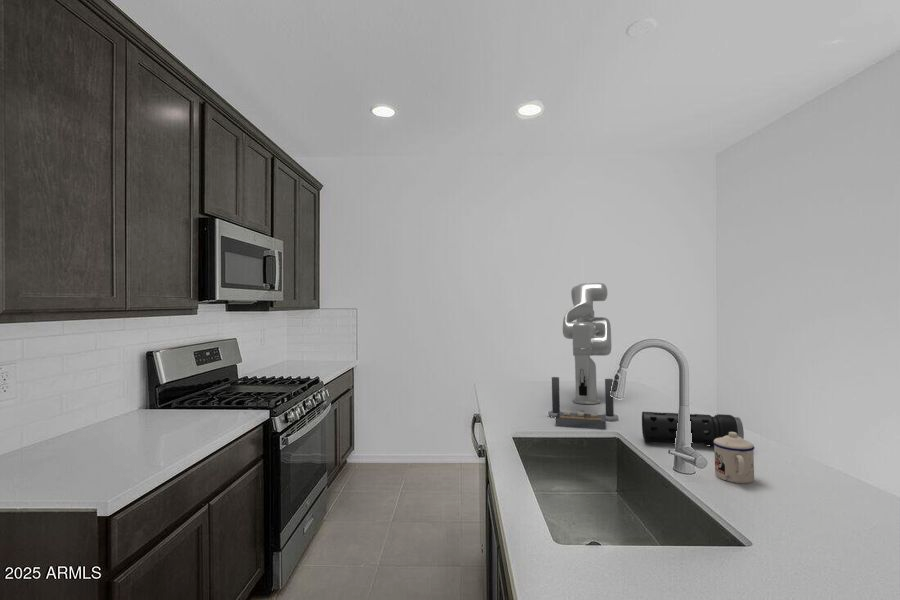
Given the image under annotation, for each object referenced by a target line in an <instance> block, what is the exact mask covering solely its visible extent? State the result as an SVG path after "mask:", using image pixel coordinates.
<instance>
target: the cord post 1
mask: <svg viewBox="0 0 900 600" xmlns="http://www.w3.org/2000/svg"><path fill="white" fill-rule="evenodd" d="M560 398H561V397H560V377H559V376H552V377H551V401H552V402H551V403H552V404H551V406H552V407H551V409H552V410H550V411H548V413H547V414H548V415H549V416H552V417H556V416H557V414H558V412H562V413H564V411H561V409H560V408H561V406H560V404H561V401H560V400H561V399H560ZM549 416H548V417H549ZM552 417H551V418H552Z"/></svg>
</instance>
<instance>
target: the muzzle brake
mask: <svg viewBox="0 0 900 600" xmlns="http://www.w3.org/2000/svg"><path fill="white" fill-rule="evenodd" d="M689 414H690V421H691V433H692V442H693V443H692V444H694V445H695V444H696V445H710V446H714V444H713V442H714V440H715V439H716V438H720V437H724V436H726V435H729V432H736V433H737V434H738V437H741V438H743V439H744V437H745V435H744V434H745V432H744V427H743V423H742V420H741V418H740V417H738V416H737V417H736V416H733V415H732V414H721V413H720V414H719V413H717V414H715V415H713V416H712V415H710V414H705V413H704V414H699V413H689ZM677 423H678V412H657V411H655V412H654V411H642V412H641V430H642V438H643V440H644V441H645V443H654V444H655V443H657V444H672V445H675V444H674V443H675V438H676V431H677ZM744 440H745V439H744Z"/></svg>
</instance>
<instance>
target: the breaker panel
mask: <svg viewBox="0 0 900 600" xmlns="http://www.w3.org/2000/svg"><path fill="white" fill-rule="evenodd" d="M562 412H564V413H562ZM562 412H558V414H557V416H556V418H554V419H555V427H565V428H566V427H567V428H580V429H595V430H606V429H607V427H606V426H607V425H606V422H607V421H606V415H602V414H598V411H596V410H595V411H590V413H585V411H584V410H577V413H576V412H571V409H564V411H562Z"/></svg>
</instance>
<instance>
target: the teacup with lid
mask: <svg viewBox="0 0 900 600" xmlns="http://www.w3.org/2000/svg"><path fill="white" fill-rule="evenodd" d="M713 444H714V447H713V448H714V449H713V450H714V474H715V476H716V477H717V478H718V479H720V478H721V480H722V481H725V480H727V481H726V482H729V481H730V483H734V482H735V483H734V484H751V483H753V482H754V481H755V463H754V462H755V461H754V458H755V457H754V450H755V446H754V444H753V442H751V441H748V440H746V439H743V438H741V437H738V434H737V433H736V432H729V435H726V436H724V437H720V438H716V439H715V440H714V442H713Z"/></svg>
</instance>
